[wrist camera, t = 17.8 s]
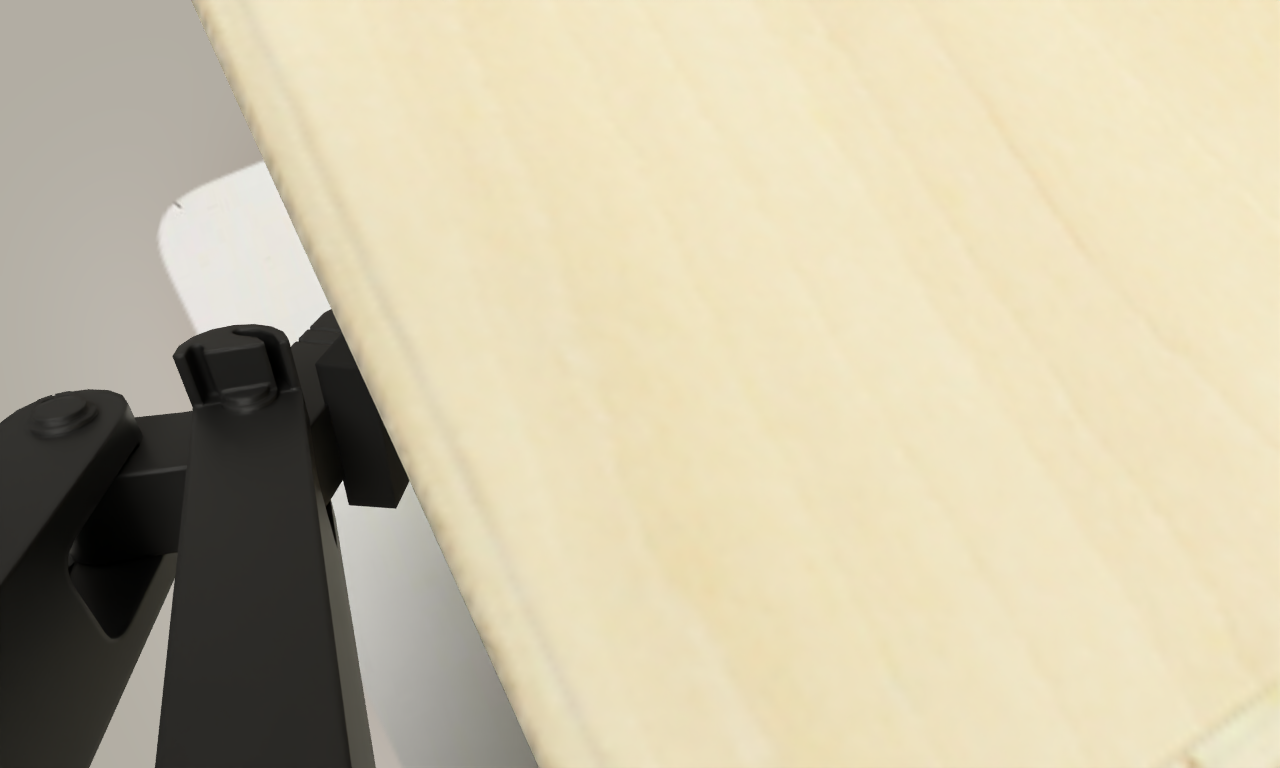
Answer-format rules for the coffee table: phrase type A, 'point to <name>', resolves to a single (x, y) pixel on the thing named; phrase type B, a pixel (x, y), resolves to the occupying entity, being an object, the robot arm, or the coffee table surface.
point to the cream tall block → (817, 359)
